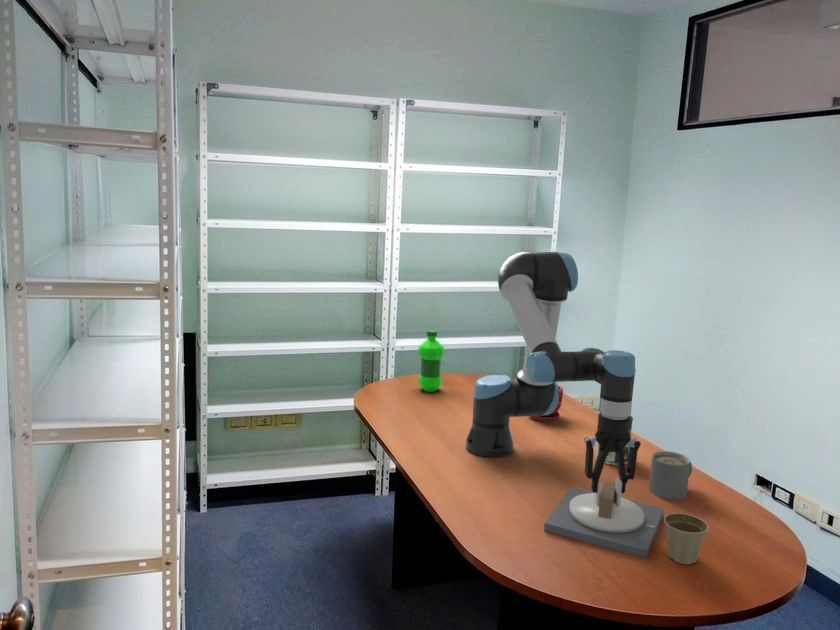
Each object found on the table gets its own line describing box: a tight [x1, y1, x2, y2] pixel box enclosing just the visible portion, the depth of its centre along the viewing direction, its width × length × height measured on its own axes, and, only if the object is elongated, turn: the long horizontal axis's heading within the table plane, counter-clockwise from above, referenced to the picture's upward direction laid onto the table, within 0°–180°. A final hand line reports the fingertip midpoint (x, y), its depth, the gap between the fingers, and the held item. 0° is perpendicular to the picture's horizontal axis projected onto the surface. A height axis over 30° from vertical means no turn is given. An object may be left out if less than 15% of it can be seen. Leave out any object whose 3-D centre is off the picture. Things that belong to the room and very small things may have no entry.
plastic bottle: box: [417, 329, 445, 393], centre depth 270 cm, size 10×10×25 cm
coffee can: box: [594, 412, 634, 466], centre depth 204 cm, size 10×10×14 cm
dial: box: [569, 481, 644, 533], centre depth 163 cm, size 18×18×6 cm
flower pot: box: [663, 512, 709, 566], centre depth 149 cm, size 9×9×9 cm
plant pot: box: [529, 385, 564, 423], centre depth 241 cm, size 13×13×12 cm
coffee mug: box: [648, 450, 693, 500], centre depth 183 cm, size 13×10×10 cm
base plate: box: [543, 486, 665, 560], centre depth 164 cm, size 24×24×2 cm
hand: (606, 504), depth 163 cm, fingers closed on dial, 4 cm apart
